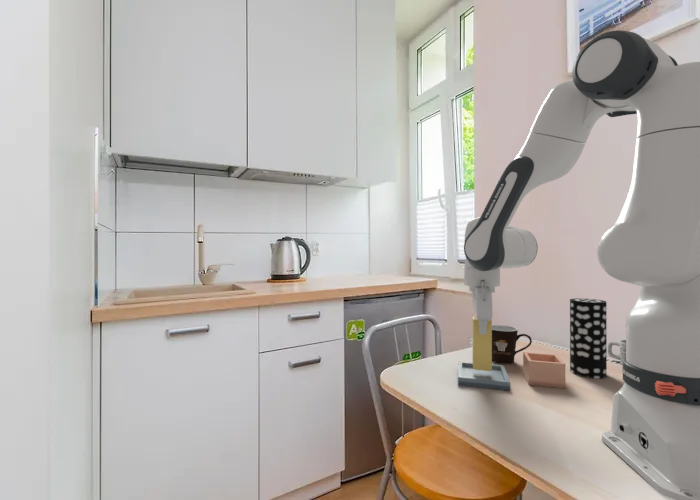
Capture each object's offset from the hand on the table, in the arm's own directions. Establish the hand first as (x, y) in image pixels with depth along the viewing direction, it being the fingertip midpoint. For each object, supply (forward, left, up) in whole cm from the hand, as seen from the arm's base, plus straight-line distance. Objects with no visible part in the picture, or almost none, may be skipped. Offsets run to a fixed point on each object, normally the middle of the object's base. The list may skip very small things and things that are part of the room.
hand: (481, 331), depth 93 cm
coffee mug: (+17, -8, -13) cm, 23 cm away
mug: (+26, -42, -13) cm, 51 cm away
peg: (0, 0, -10) cm, 10 cm away
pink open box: (+3, -15, -12) cm, 20 cm away
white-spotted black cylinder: (+13, -28, -13) cm, 33 cm away
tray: (0, 0, -12) cm, 12 cm away
